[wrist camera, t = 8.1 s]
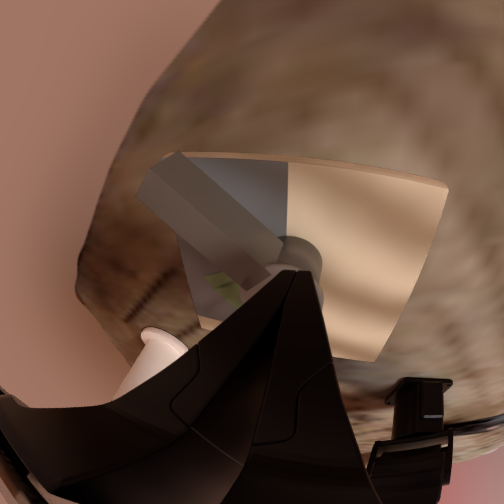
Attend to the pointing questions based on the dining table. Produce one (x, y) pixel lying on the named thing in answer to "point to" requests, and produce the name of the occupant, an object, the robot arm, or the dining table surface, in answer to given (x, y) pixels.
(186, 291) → the dining table surface
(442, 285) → the dining table surface
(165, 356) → the candle
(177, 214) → the grey knobbed piece
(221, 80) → the dining table surface
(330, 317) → the thin beige panel
